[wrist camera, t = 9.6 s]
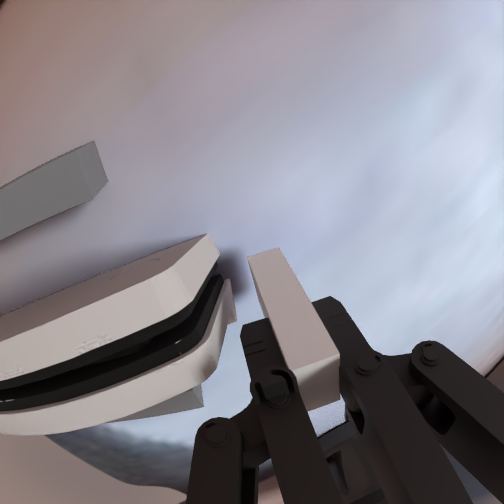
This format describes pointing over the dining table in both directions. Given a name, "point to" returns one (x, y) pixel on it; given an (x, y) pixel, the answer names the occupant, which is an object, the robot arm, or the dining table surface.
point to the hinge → (114, 342)
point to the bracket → (60, 199)
